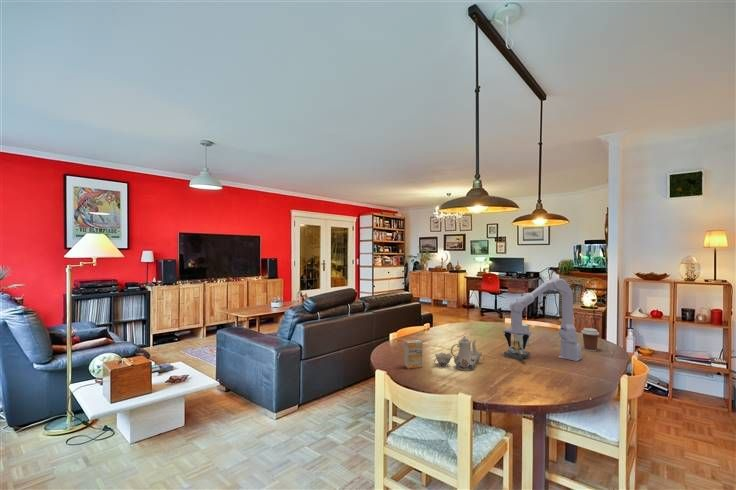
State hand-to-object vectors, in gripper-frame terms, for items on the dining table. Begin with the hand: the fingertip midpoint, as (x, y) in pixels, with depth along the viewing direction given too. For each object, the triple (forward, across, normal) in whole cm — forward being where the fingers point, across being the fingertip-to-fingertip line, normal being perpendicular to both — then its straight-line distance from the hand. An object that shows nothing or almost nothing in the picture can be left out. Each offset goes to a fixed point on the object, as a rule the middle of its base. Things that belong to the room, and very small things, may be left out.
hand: (516, 347), depth 200 cm
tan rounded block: (+5, 0, 0) cm, 5 cm away
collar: (+3, -3, +4) cm, 6 cm away
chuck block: (+5, 0, 0) cm, 5 cm away
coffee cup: (+5, -31, -39) cm, 50 cm away
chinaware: (+5, +18, +33) cm, 38 cm away
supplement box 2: (+5, +5, -28) cm, 29 cm away
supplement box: (+5, +38, +49) cm, 62 cm away
